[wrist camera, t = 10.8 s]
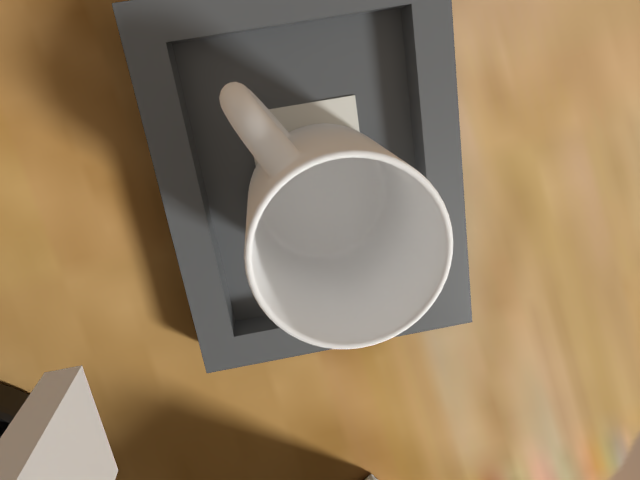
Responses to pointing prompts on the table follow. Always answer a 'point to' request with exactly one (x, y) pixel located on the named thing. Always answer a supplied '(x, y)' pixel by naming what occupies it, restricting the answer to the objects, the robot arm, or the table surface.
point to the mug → (337, 230)
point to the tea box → (370, 477)
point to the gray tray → (292, 112)
